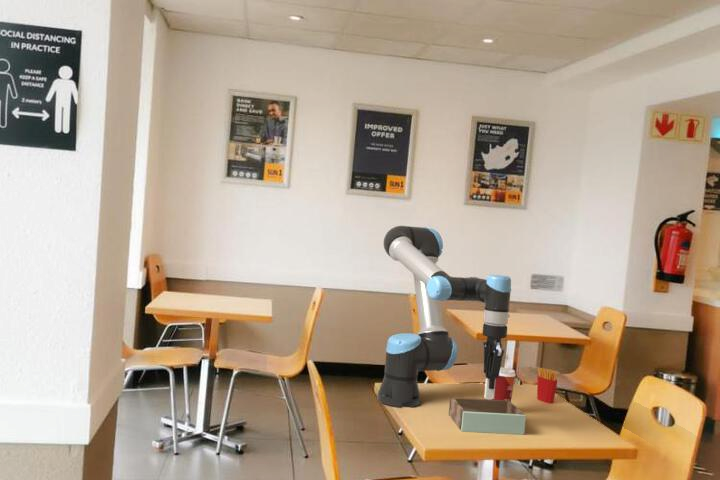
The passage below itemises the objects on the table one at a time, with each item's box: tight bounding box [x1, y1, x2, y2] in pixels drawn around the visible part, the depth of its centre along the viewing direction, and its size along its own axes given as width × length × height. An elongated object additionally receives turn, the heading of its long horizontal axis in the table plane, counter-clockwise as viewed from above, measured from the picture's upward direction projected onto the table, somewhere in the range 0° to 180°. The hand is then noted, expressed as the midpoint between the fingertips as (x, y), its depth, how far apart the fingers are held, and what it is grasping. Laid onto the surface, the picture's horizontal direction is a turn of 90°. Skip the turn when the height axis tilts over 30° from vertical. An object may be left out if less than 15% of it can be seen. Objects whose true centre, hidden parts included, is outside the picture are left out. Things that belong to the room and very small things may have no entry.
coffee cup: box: [491, 366, 517, 403], centre depth 213 cm, size 8×8×15 cm
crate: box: [448, 396, 526, 431], centre depth 195 cm, size 14×20×7 cm
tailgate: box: [460, 411, 527, 435], centre depth 187 cm, size 1×20×6 cm, turn 96°
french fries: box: [536, 367, 558, 404], centre depth 233 cm, size 8×4×12 cm, turn 32°
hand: (489, 398), depth 194 cm, fingers closed
